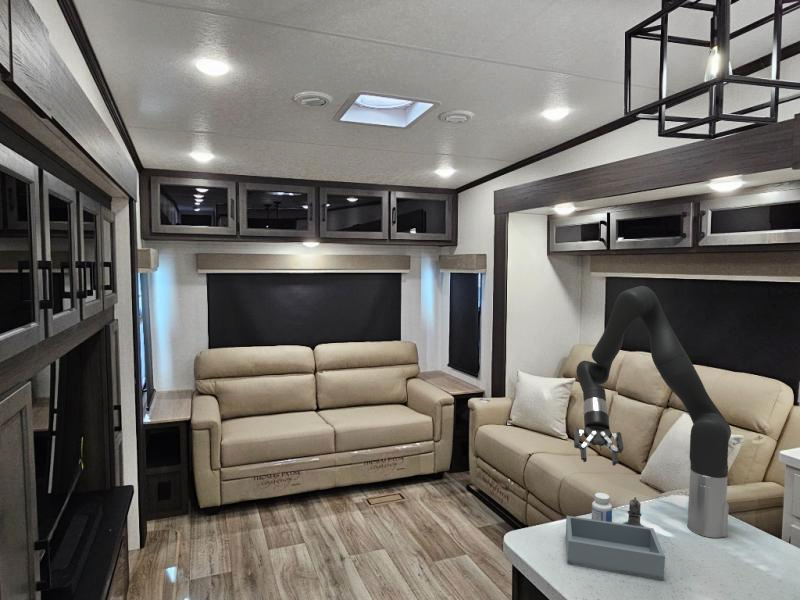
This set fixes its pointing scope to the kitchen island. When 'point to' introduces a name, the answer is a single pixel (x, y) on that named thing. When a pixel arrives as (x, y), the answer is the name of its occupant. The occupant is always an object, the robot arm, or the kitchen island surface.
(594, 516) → the pill bottle
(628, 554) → the tote
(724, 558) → the kitchen island surface
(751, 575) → the kitchen island surface
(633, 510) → the grey stone chess piece
